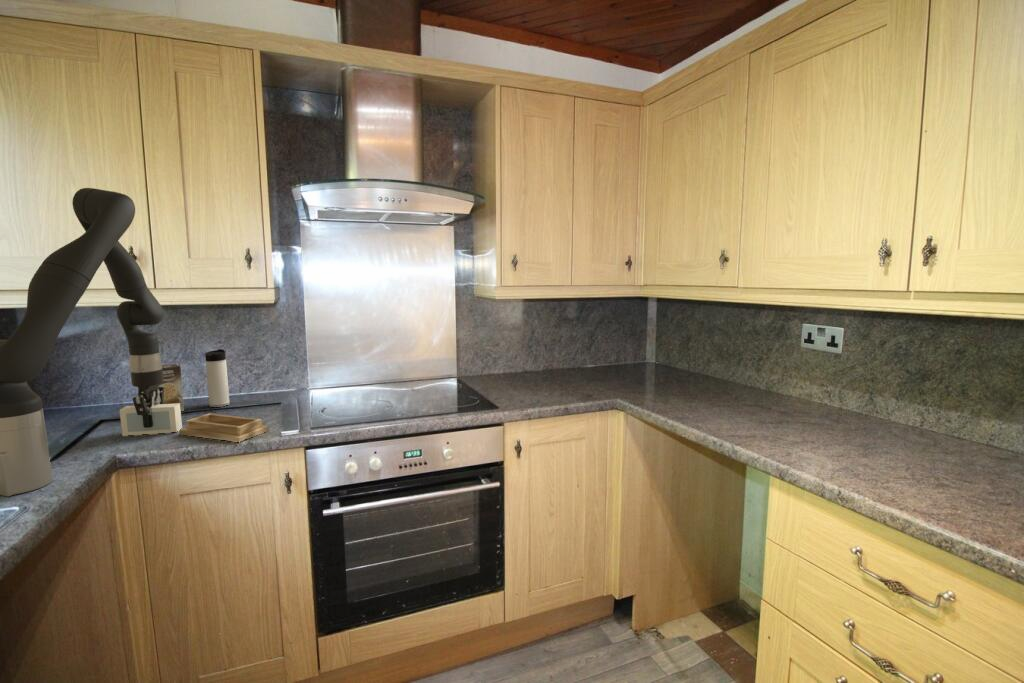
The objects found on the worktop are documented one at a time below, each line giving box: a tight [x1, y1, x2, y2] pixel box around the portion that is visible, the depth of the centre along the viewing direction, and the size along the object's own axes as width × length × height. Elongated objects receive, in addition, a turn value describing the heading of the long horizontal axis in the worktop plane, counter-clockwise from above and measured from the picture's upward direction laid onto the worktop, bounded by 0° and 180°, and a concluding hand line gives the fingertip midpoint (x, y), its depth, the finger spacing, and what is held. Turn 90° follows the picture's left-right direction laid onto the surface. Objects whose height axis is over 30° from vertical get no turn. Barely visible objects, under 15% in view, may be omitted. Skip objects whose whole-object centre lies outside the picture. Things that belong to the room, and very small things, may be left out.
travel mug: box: [204, 348, 230, 408], centre depth 174 cm, size 6×7×20 cm
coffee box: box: [146, 363, 185, 412], centre depth 165 cm, size 9×6×16 cm
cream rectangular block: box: [119, 403, 183, 437], centre depth 146 cm, size 4×14×8 cm, turn 104°
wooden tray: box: [178, 412, 270, 444], centre depth 146 cm, size 11×22×4 cm, turn 73°
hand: (152, 424), depth 146 cm, fingers closed on cream rectangular block, 4 cm apart
